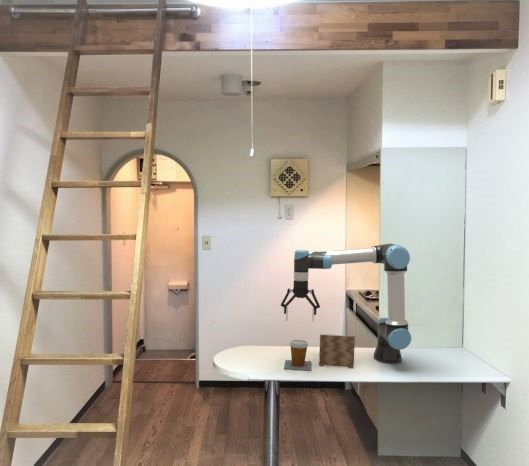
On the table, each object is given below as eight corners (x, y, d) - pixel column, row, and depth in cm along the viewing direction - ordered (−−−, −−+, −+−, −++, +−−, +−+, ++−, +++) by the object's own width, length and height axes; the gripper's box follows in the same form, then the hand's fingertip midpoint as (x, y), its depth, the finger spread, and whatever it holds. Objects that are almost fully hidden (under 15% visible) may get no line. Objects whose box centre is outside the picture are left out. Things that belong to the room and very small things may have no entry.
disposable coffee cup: (306, 368, 248) (307, 345, 248) (287, 366, 250) (288, 343, 250) (308, 362, 258) (309, 340, 257) (290, 361, 260) (291, 338, 259)
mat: (311, 362, 260) (311, 361, 260) (311, 371, 247) (311, 369, 246) (285, 360, 262) (285, 359, 262) (283, 369, 248) (283, 368, 248)
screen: (353, 365, 258) (354, 335, 257) (353, 368, 253) (355, 337, 252) (318, 363, 260) (320, 333, 259) (319, 366, 255) (320, 336, 254)
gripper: (325, 279, 254) (323, 319, 255) (277, 278, 257) (276, 317, 258) (325, 281, 247) (324, 323, 248) (276, 280, 249) (275, 321, 250)
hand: (299, 320), depth 253 cm, fingers open, 13 cm apart
